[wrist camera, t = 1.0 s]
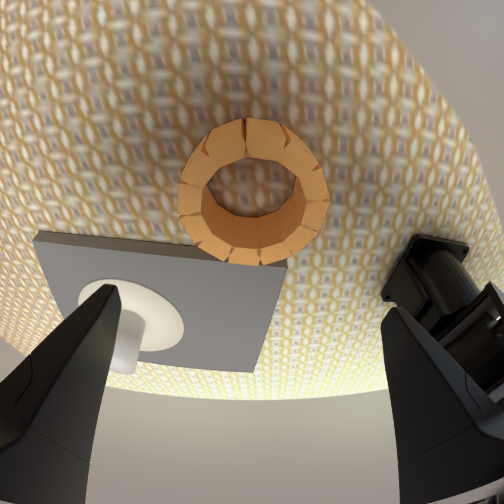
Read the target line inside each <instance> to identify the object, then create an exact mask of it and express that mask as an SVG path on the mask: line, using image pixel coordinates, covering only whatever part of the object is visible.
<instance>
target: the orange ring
mask: <svg viewBox="0 0 504 504" xmlns="http://www.w3.org/2000/svg"><path fill="white" fill-rule="evenodd" d="M246 157H251V158H259V159H266V160H273V161H278V162H279V163H280V164H282V165H283V166H284V167H286V168H287V169H288V170H289V171H291V172H292V173H293V174H294V175H296V176H297V177H296V181H295V185H294V189H293V193H292V196H291V197H290V198H289V199H288V200H287V201H286V202H285V203H284V204H283V205H282V206H281V207H280V208H279V209H278V210H277V211H276V212H273V213H270V214H267V215H264V216H261V217H258V218H252V217H243V216H235V215H233V214H231V213H230V212H228V211H227V210H225V209H224V208H222V207H220V206H219V205H217V204H216V202H215V200H214V198H213V196H212V194H211V192H210V190H209V188H208V187H207V183H208V181H209V180H210V179H211V177H212V176H213V175H214V174H215V172H216V171H217V170H218V169H219V168H220V167H222V166H225V165H228V164H230V163H233V162H235V161H238V160H241V159H243V158H246ZM328 198H330V195H329V192H328V188H327V184H326V181H325V177H324V174H323V170H322V167H321V166H320V164H319V163H318V161H317V159H316V158H315V156H314V155H313V153H312V152H311V150H310V149H309V147H308V146H307V144H306V143H305V142H304V141H303V140H302V139H301V138H299V137H298V136H297V135H296V134H295V133H293V132H292V131H291V130H290V129H288V128H287V127H286V126H285V125H284V124H282V125H281V126H280V125H279V123H278V122H277V121H270V120H264V119H257V118H250V117H246V123H245V125H244V123H243V121H242V119H241V118H239V119H236V120H234V121H231V122H229V123H226V124H224V125H221V126H219V127H216V128H214V129H212V130H211V133H210V134H209V133H207V134H206V136H205V137H204V138H203V140H202V141H201V142H200V144H199V145H198V146H197V148H196V149H195V150H194V152H193V153H192V154H191V156H190V158H189V160H188V162H187V164H186V167H185V169H184V171H183V173H182V175H181V178H180V181H179V183H178V214H179V215H180V217H179V220H180V222H181V223H182V225H183V227H184V228H185V230H186V231H187V233H188V235H189V236H190V238H191V239H192V241H193V242H194V244H195V243H198V242H199V243H198V247H199V248H200V249H202V250H204V251H206V252H207V253H209V254H211V255H213V256H214V257H216V258H218V259H220V260H222V261H223V262H224V261H225V260H226V258H227V257H228V256H229V258H228V263H233V264H243V265H253V266H258V265H259V260H261V262H262V264H263V265H266V264H270V263H273V262H276V261H279V260H282V259H286V258H289V257H292V254H291V251H292V252H294V253H295V254H297V253H298V252H299V251H300V250H301V249H302V248H304V247H305V246H306V245H307V244H308V243H309V242H310V241H311V240H312V239H313V238H315V237H316V236H317V235H318V233H317V230H321V228H322V225H323V222H324V219H325V216H326V213H327V210H328V207H329V204H330V202H329V200H328Z"/></svg>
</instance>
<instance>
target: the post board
mask: <svg viewBox="0 0 504 504" xmlns="http://www.w3.org/2000/svg"><path fill="white" fill-rule="evenodd" d="M32 242H33V245H34V248H35V251H36V254H37V257H38V259H39V262H40V265H41V267H42V270H43V273H44V275H45V278H46V280H47V283H48V285H49V287H50V290H51V292H52V294H53V297H54V299H55V301H56V303H57V305H58V308H59V310H60V312H61V314H62V316H63V318H64V320H65V319H66V318H67V317H68V316H69V315H70V314H71V313H72V312H73V311H74V310H75V309H76V308H77V307H78V306H80V305H81V304H82V303H83V302H84V301H85V300H86V299H87V298H88V297H89V296H91V295H92V294H93V293H94V292H95V291H96V290H97V289H98V288H100V287H101V286H102V285H103V284H114V285H116V286H117V287H118V291H119V295H120V299H121V303H122V309H121V314H120V319H119V325H118V330H117V336H116V342H115V348H114V353H113V357H112V361H111V364H110V368H109V370H111V371H114V372H116V373H120V374H132V373H134V372H135V369H136V365H137V361H141V362H147V363H154V364H161V365H168V366H176V367H185V368H194V369H205V370H216V371H230V372H249V373H253V371H254V369H255V366H256V363H257V360H258V357H259V354H260V351H261V348H262V345H263V343H264V340H265V337H266V334H267V331H268V328H269V325H270V322H271V319H272V316H273V313H274V309H275V306H276V303H277V300H278V297H279V294H280V291H281V288H282V285H283V281H284V278H285V275H286V272H287V269H288V267H287V261H286V259H282V260H279V261H276V262H273V263H270V264H266V265H263V264H262V262H261V260H259V265H258V266H253V265H243V264H233V263H228V258H229V256H228V257H227V258H226V260H225V261H224V262H223V261H222V260H220V259H218V258H216V257H214V256H213V255H211V254H209V253H207V252H206V251H204V250H202V249H200V248H199V247H195V246H185V245H175V244H165V243H155V242H145V241H135V240H125V239H115V238H105V237H95V236H86V235H76V234H66V233H56V232H46V231H39V232H38V234H37V235H36V236H35V237H34V239H33V240H32Z"/></svg>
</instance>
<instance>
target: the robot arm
mask: <svg viewBox="0 0 504 504" xmlns="http://www.w3.org/2000/svg"><path fill="white" fill-rule="evenodd" d="M418 241H419V242H418ZM468 252H469V247H468V246H467V244H465V243H460V242H455V241H450V240H445V239H440V238H435V237H429V236H424V235H416V236H414V237H413V238H412V240H411V242H410V244H409V245H408V247H407V249H406V251H405V253H404V255H403V257H402V259H401V260H400V262H399V264H398V266H397V268H396V269H395V271H394V273H393V275H392V276H391V278H390V280H389V282H388V283H387V285H386V287H385V288H384V290H383V292H382V293H381V298H382V300H383V301H384V302H395V303H396V305H397V307H392V308H391V309H390V310H389V312H388V313H387V315H386V316H385V318H384V319H383V320H382V323H381V335H382V344H383V354H384V364H385V370H386V376H387V382H388V387H389V393H390V400H391V406H392V413H393V420H394V429H395V437H396V447H397V458H398V463H399V464H398V472H399V490H400V504H428V503H432V502H435V501H436V503H434V504H504V293H503V292H502V291H501V290H500V289H498V288H497V287H496V286H495V285H494V284H493V283H492V282H491V281H489V282H488V283H487V285H486V286H485V288H484V290H483V291H482V292H480V290H479V288H478V287H477V285H476V284H475V282H474V281H473V279H472V278H471V276H470V275H469V273H468V272H467V270H466V269H465V268H464V266H463V265H462V262H463V260H464V258H465V257H466V255H467V254H468ZM121 309H122V303H121V299H120V295H119V291H118V287H117V286H116V285H114V284H103V285H102V286H101V287H100V288H98V289H97V290H96V291H95V292H94V293H93V294H92V295H91V296H89V297H88V298H87V299H86V300H85V301H84V302H83V303H82V304H81V305H80V306H78V307H77V308H76V309H75V310H74V311H73V312H72V313H71V314H70V315H69V316H68V317H67V318H66V319H65V320H64V321H62V322H61V323H60V324H59V325H58V326H57V327H56V328H55V329H54V330H53V331H52V332H51V333H50V334H49V335H48V336H47V337H46V338H45V339H44V340H43V341H42V342H41V343H40V344H39V345H38V346H37V347H36V348H35V349H34V350H33V351H32V352H31V355H30V354H29V355H28V356H27V357H26V358H25V359H24V360H23V361H22V362H21V363H20V364H19V365H18V366H17V367H16V368H15V369H14V370H13V371H12V372H11V373H10V374H9V375H8V376H7V377H6V378H5V379H4V380H3V381H2V382H0V504H85V499H86V489H87V480H88V472H89V466H90V463H89V462H90V458H91V452H92V445H93V440H94V434H95V429H96V424H97V419H98V414H99V410H100V405H101V401H102V396H103V392H104V388H105V384H106V380H107V376H108V372H109V368H110V364H111V361H112V357H113V353H114V348H115V342H116V336H117V330H118V325H119V319H120V314H121ZM499 316H500V317H501V318H500V319H499V320H498V321H497V320H496V319H497V318H498V317H499Z"/></svg>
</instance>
